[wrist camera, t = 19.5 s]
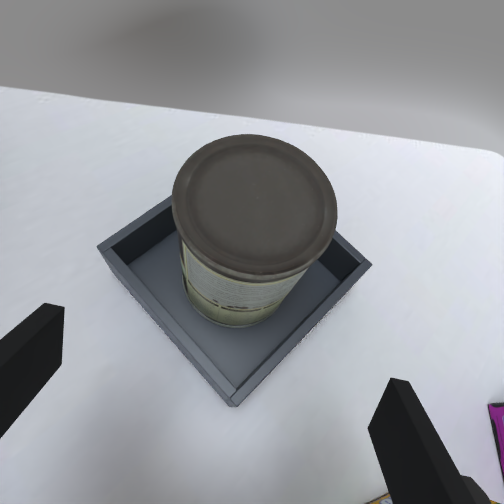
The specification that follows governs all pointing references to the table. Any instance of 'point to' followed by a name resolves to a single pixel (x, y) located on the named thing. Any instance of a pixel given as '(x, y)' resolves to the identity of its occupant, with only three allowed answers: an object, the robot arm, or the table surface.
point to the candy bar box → (498, 427)
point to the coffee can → (249, 225)
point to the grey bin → (210, 334)
